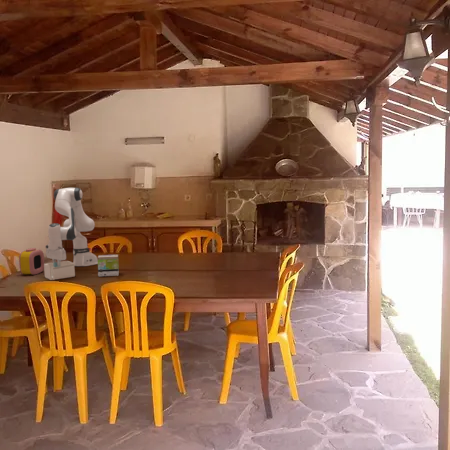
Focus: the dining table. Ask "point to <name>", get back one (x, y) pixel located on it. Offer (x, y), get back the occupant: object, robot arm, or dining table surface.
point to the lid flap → (62, 270)
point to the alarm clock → (31, 261)
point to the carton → (49, 270)
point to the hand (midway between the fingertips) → (56, 265)
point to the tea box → (108, 265)
